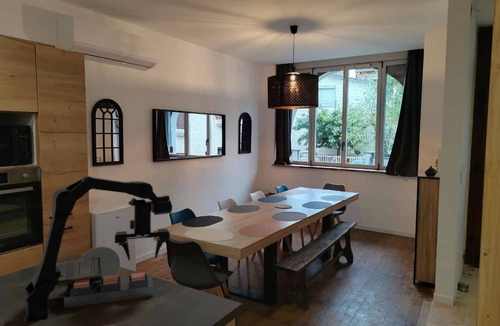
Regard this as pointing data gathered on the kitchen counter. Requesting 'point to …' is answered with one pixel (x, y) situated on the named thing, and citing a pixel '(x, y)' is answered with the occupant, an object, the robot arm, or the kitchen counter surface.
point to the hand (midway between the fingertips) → (142, 258)
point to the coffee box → (79, 271)
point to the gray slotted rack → (108, 292)
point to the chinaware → (105, 260)
